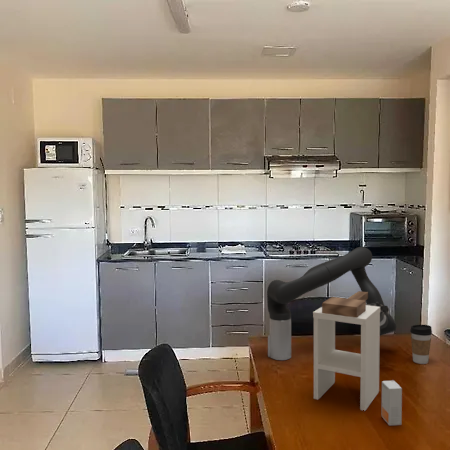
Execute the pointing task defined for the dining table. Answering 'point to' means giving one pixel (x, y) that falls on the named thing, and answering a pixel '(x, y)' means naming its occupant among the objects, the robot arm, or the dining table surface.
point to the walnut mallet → (346, 305)
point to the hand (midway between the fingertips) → (365, 303)
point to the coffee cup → (421, 343)
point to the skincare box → (391, 403)
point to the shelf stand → (347, 353)
